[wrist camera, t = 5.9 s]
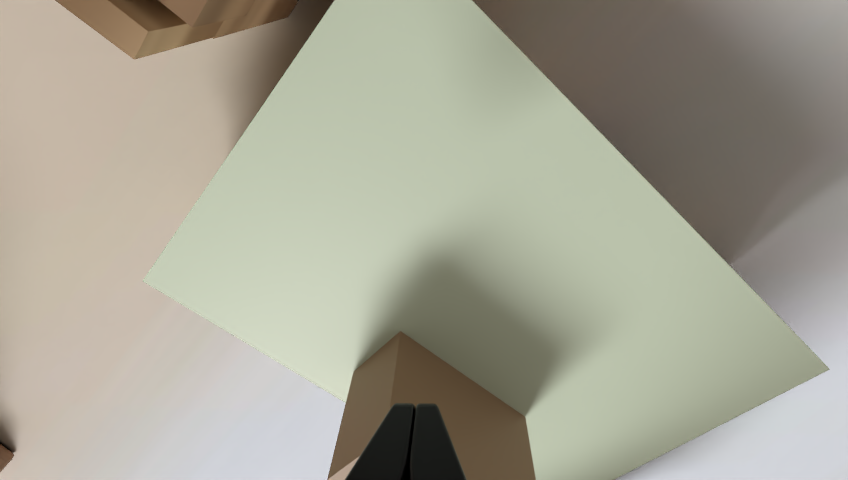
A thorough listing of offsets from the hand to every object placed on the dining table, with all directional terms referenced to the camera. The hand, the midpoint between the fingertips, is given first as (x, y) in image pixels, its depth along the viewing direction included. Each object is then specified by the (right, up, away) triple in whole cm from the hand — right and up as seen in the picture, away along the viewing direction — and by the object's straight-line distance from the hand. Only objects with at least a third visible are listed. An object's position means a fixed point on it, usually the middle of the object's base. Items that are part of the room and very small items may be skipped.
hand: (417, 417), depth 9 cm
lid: (+2, +1, +7) cm, 7 cm away
